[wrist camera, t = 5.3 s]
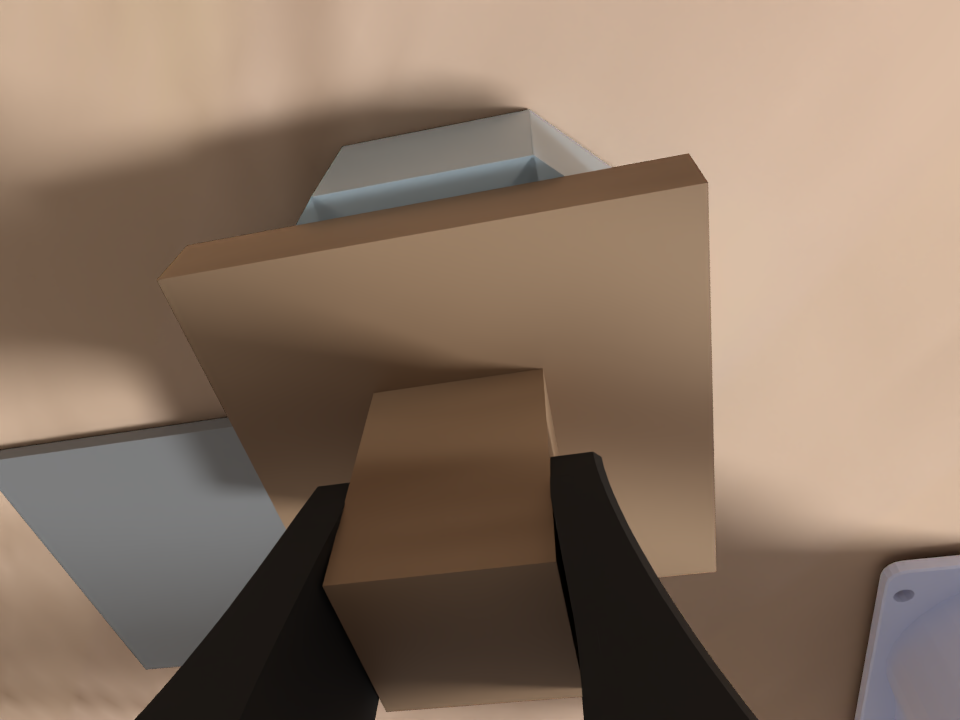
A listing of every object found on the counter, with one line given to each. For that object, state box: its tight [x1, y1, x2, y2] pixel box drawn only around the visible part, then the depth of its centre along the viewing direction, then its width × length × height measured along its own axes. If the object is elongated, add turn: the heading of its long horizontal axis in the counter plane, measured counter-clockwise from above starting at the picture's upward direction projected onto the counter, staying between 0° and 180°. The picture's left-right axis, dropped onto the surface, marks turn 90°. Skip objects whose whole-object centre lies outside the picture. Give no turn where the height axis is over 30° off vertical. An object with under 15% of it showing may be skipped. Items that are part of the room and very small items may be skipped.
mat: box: [0, 417, 286, 669], centre depth 19 cm, size 9×8×1 cm
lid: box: [157, 154, 716, 712], centre depth 11 cm, size 8×8×5 cm
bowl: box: [296, 109, 612, 225], centre depth 14 cm, size 8×8×2 cm
